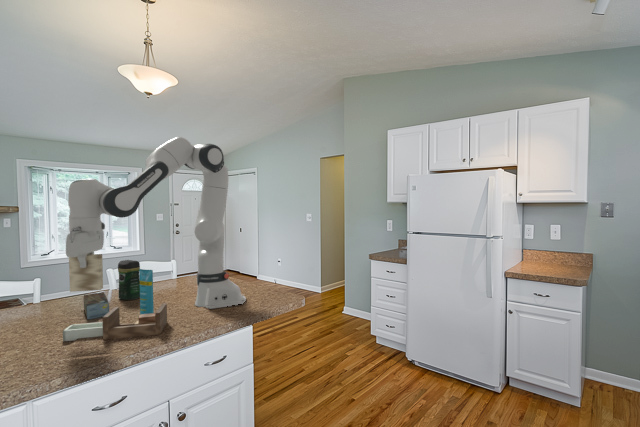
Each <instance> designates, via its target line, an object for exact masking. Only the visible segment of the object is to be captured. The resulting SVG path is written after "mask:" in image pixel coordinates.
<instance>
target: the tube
mask: <svg viewBox="0 0 640 427" xmlns="http://www.w3.org/2000/svg"><path fill="white" fill-rule="evenodd" d="M153 273H154V272H153V269H145V268H143V269H142V268H140V269H139V278H140V297H139V316H140V315H141V314H150V313H155V311H154V306H155V305H154V274H153Z"/></svg>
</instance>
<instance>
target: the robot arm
mask: <svg viewBox="0 0 640 427" xmlns="http://www.w3.org/2000/svg"><path fill="white" fill-rule="evenodd" d="M224 159H225V158H224V152H223V150H222V149H221V147H220V146H218V145H216V144H213V143H198V144H191V142H190V141H189V140H188V139H187V138H185V137H183V136H176V137H174V138H171V139H169V140H168V141H165V143H163V144H161V145H160V146H158V147H157V148H156V149H154V150H153V151H152V152H151V153H150V154H149V155H148V156H147V158H146V160H145V169H144V170H143V171H142V172H141V173H140V174H139V175H138V176H136V177H135V178H134V179H133V180H131V181H130V182H129V183H128V184H126V185H124V186H119V187H116V188H114V187H111V186H109V185H106V184H104V183H102V182H101V181H99V180H98V179H96V178H82V179H77V180H74V181H73V182H71V183H70V185H69V187H68V201H67V202H68V208H69V214H68V230H69V232H68V234H67V235H66V240H65V256H66V257H67V258H69V257H77V258H78V260H79V263H80V268H85V267H87V266H88V262H87V261H86V255H91V254H95V252H97V251H100V250H103V248H104V242H105V241H104V240H105V238H104V237H105V236H104V235H105V234H104V233H105V232H104V230H105V229H106V224H105V222H103V221H102V220H101V215H102V214H103V215H107V216H110V217H111V216H113V217H117V218H122V219H123V218H127V217H130V216H132V215H133V214H135V213H136V212H137V210H138V209H139V206H140V204H141V202H142V200H143V198H145V196H147V194H149V192H151V191H152V190H153V189H154V188H155V187H156V186H157V185H158V184H159V183H161V182H162V181H164V180H166V179H167V178H169V177H170V176H172V175H173V174H174V173H176V172H177V171H179V170H180V169H181V168H182V167H183V166H185V167H187V168H188V169H191V170H199V171H202V175H203V181H202V188H201V195H200V204H199V207H198V208H199V209H198V211H197V216H196V222H195V227H194V235H195V237H196V239H197V240H198V242H199V244H198V254H197V274H196V284H197V285H196V286H197V290H196V291H197V293H196V298H195V302H194V306H196V307H198V308H206V309H208V310H214V309H219V308H226V307H227V306H228V307H233V306H232V305H235V306H239V305H238V304H242V305H243V303H244V302H245V301H246V302H247V298H246V296H245V295H244V294H242V292H241V288H240V286H239V285H237V284H236V283H234V282H233V281H232V280H230V279H229V277H230V275H229V272H227V271H225V270H224V251H225V250H224V248H225V225H224V215H225V211H226V206H227V198H228V189H229V170H228V168H227V166H225V160H224ZM246 302H245V303H246ZM245 303H244V304H245Z"/></svg>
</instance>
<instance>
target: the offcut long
mask: <svg viewBox="0 0 640 427" xmlns="http://www.w3.org/2000/svg"><path fill="white" fill-rule="evenodd" d="M134 323H135V324H134V325H143V324H155V323H156V322H151V323H142V324H139V320H136V321H135V322H134Z"/></svg>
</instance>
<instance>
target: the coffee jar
mask: <svg viewBox="0 0 640 427" xmlns="http://www.w3.org/2000/svg"><path fill="white" fill-rule="evenodd" d="M139 269H141V265H140V261H138V260H132V259H125V260H120V261H119V262H118V264H117V272H118V299H119V300H123V301H131V300H134V301H135V300H137V299H140V271H139Z"/></svg>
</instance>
